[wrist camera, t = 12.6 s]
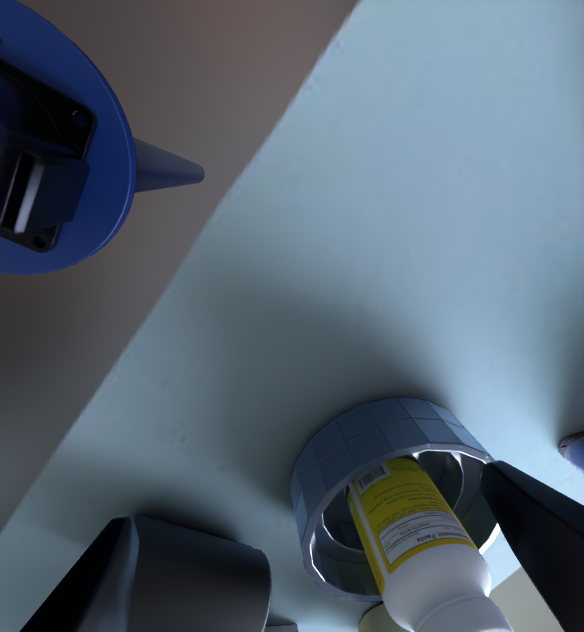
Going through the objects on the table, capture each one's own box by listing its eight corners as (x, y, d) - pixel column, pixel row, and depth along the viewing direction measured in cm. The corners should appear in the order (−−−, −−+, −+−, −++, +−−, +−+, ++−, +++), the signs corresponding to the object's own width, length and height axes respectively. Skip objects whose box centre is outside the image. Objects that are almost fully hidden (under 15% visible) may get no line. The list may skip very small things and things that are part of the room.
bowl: (256, 513, 26) (262, 584, 22) (353, 365, 23) (384, 412, 18) (397, 548, 31) (426, 613, 26) (497, 428, 27) (551, 479, 23)
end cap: (267, 524, 27) (278, 627, 21) (222, 581, 29) (220, 692, 22) (145, 486, 24) (115, 594, 18) (102, 552, 25) (60, 674, 19)
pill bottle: (397, 509, 28) (490, 694, 18) (329, 500, 27) (389, 699, 16) (431, 450, 26) (557, 620, 16) (360, 436, 25) (451, 617, 15)
